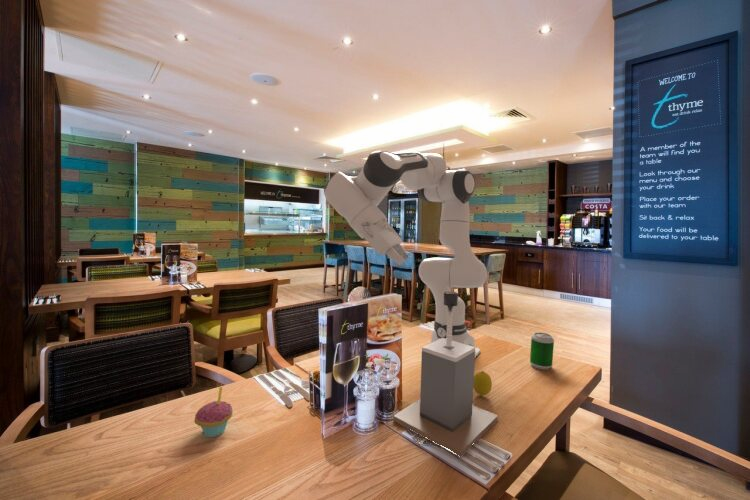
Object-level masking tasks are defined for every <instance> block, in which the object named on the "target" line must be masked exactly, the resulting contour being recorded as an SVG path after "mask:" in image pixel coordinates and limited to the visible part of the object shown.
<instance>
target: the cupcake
mask: <svg viewBox="0 0 750 500" xmlns="http://www.w3.org/2000/svg"><path fill="white" fill-rule="evenodd" d="M222 391H223V383H221V385H220V386H219V388H218V395H217V400H214V401H211V402H209V403H207V404H205V405H202V406H201V407H200V408H199V409H198V410H197V412H196V413H195V415H194V416H195V418H194V423H195V425H197V426H199V427H200V428H201V429H202V431H203V435H204V436H205V437H207V436H208V438H214V437H213V436H215V437H217V435H218V436H220V435H222V434H223V433H224V432H225V431H224V430H226V427H227V424H228V421H229V420H231V418H232V416H233V406H232V405H231V404H230V403H227V402H226V401H222V395H223V394H222ZM221 433H222V434H221Z"/></svg>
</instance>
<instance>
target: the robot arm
mask: <svg viewBox="0 0 750 500" xmlns="http://www.w3.org/2000/svg"><path fill="white" fill-rule="evenodd" d="M399 179H400V182H401V184H403V186H404V187H406V189H408V190H411V191H416V192H417V196H418V198H419V199H420V200H421V201H422V202H426V203H442V207H441V214H440V221H439V223H440V224H439V237H438V239H439V242H440V244H441V245H442V246H443V247H445V248H446V249H448V250H450V251H451V252H452V253H453V254H454V257H453V258H452V257H436V256H434V257H430V258H429V257H428V258H424V259H423V260H422V261H421V262H420V264H419V266H418V276H419V278H420V280H421V281H422V282H423V283H424V284H425V285H426V286H427V287H428V288H429V290H430V291H431V294H432V295H433V298H434V301H435V303H434V304H435V319H434V321H433V322H434V323H433V331H432V332H431V338H430V343H432V342H434V341H436V340H439V339H441V338H445V339H446V334H447V309H448V306H446V305H444V304H443V301H444V292H452V290H451V287H453V288H464V289H474V288H475V289H476V288H481V287H482V286H484V285H485V284H486V281H487V279H488V270H487V267H486V266H485V264H484V263H483V262H482V261H481V260H480V259H479V258H478V257H477V256H476V255H475V253H474V252H473V249H472V247H471V246H472V245H471V242H470V226H471V225H470V221H471V216H470V215H471V212H470V203H469V202H470V201H469V200H470V198H471V197H472V196H473V194H474V192H475V189H476V181H475V180H476V179H475V177H474V175H473V173H472V172H471V171H470V170H468V169H460V168H459V169H457V170H456V169H454V170H447V163H446V160H445V158H444V156H442V155H440V154H438V153H433V152H429V153H428V152H427V153H422V152H419V151H416V150H413V151H411V150H410V151H408V150H407V151H396V152H395V151H394V152H392V151H387V150H376V151H373V152H371V153H369V155H368V156H367V159H366V160H365V162H364V164H363V167H362V169H361V170H360V171H359V173H358V175H357V176H351V175H346V174H345V173H344V172H341V171H338V172H335V173H334V174H333V175H332V176H331V177H330V178H329V180H327V182H326V184H325V186H324V188H323V195H324V196H325V199H326V200H327V202H328V203H329V205H331V206H332V208H333V209H334V210H335V211H336V212H337V214H338V215H340V216H341V217H342V218H344V219H345V220H346V221H347V223H348V225H349V227H350V228H351V229H352V230H353V231H354V232H355V233H356V234H357V235H358V237H359V238H361V239H365V240H366V242H367V243H368V244H369V245H370V246H371V248H372V249H373V250H374V251H375V252H376V253H377V254H378V255H380V256H383V255H385V254H386V256H387V257H388V258H389V259H391V260H393V261H394V262H395V263H396V264H397V265H398V266H401V264H403V263H404V262H405V261H407V260H408V259H409V257H410V255H409V254H408V253H407V252H406V250H405V249H404V247H403V246H402V245H401V244H402V242H403V241H402V238H401V237H400V235H399V234H398V232H397V231H396V230H395V229H394V228H393V227H392V225H391V224H390V222H388V217H386V214H384V212H383V211H381V210H380V208H379V207H378V206H379V205H380V204H381V202H382V201H383V200H384V199H385V197H386V196H387V194H388V193H389V192H390V190H391V189H392V187H394V185H396V183H398V181H399ZM465 316H466V303H465V302H464V300H463V299H462V298H461V297H460V296H458V305H457V306H453V322H452V341H455V342H459V343H462V344H466V345H469V346H472V347H475V359H476V356H477V357H478V356H479V354H480V353H481V349H480V348H479V347H477V346H475V337H474V336H473V335H471V334H470V333H469V332H468V329H467V327H470V324H471V322H470V321H469V320H466V319H465V318H466V317H465Z"/></svg>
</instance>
